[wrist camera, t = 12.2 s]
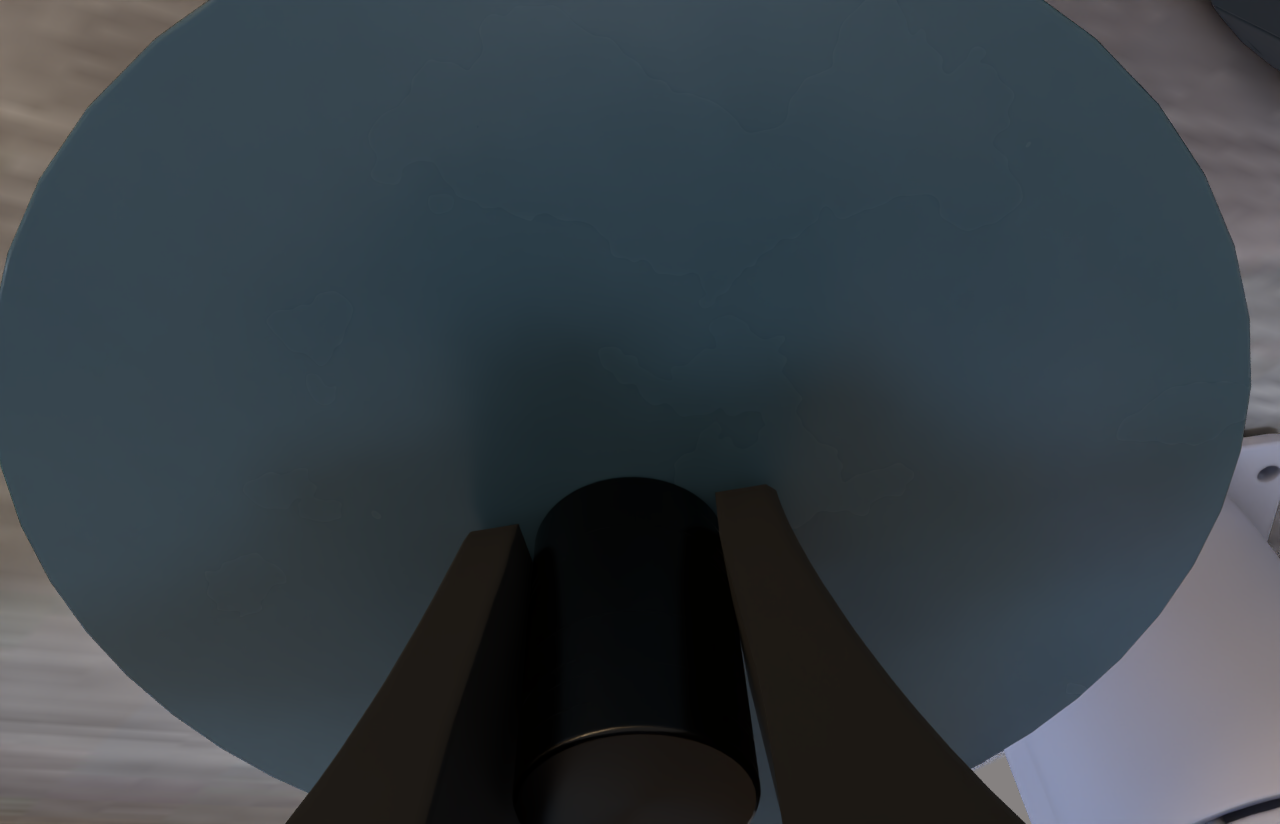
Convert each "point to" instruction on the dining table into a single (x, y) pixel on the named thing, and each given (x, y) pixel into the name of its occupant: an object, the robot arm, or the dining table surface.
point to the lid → (619, 364)
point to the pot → (1254, 25)
